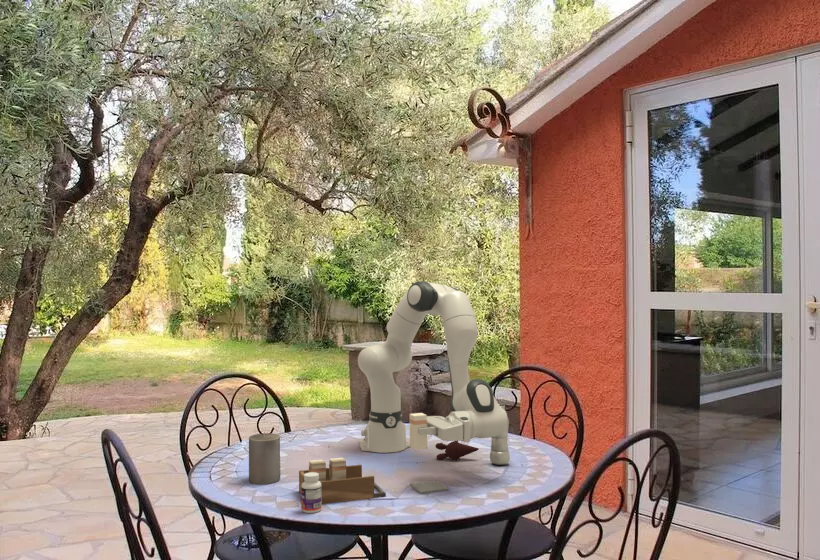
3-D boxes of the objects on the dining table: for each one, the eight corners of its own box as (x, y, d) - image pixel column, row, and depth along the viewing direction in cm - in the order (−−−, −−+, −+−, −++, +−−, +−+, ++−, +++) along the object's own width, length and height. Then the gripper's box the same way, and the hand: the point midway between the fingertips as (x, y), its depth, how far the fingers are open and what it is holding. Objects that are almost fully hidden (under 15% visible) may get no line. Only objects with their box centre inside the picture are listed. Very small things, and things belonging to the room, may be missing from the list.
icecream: (478, 438, 239) (435, 441, 240) (477, 438, 232) (433, 441, 233) (479, 459, 237) (437, 462, 238) (479, 459, 230) (435, 462, 231)
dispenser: (299, 491, 200) (298, 457, 200) (371, 483, 208) (371, 450, 208) (308, 505, 187) (308, 469, 187) (385, 496, 195) (385, 461, 195)
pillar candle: (253, 475, 217) (252, 429, 217) (283, 475, 216) (283, 428, 216) (245, 485, 207) (244, 436, 207) (276, 485, 207) (276, 436, 207)
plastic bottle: (509, 467, 225) (508, 407, 225) (488, 466, 226) (488, 406, 226) (510, 462, 231) (509, 403, 231) (490, 461, 232) (490, 403, 232)
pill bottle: (302, 507, 186) (302, 471, 186) (322, 506, 186) (321, 471, 186) (300, 513, 180) (300, 477, 180) (321, 513, 181) (320, 476, 181)
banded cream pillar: (409, 447, 204) (409, 413, 204) (422, 445, 206) (421, 412, 206) (414, 450, 200) (413, 416, 201) (427, 448, 202) (426, 415, 202)
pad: (409, 485, 205) (409, 483, 205) (437, 482, 208) (437, 480, 208) (420, 494, 197) (420, 491, 197) (448, 490, 200) (448, 488, 200)
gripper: (444, 409, 217) (404, 413, 213) (471, 421, 198) (427, 425, 193) (445, 429, 217) (404, 433, 213) (472, 443, 198) (427, 447, 193)
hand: (415, 429), depth 203 cm, fingers closed on banded cream pillar, 4 cm apart
